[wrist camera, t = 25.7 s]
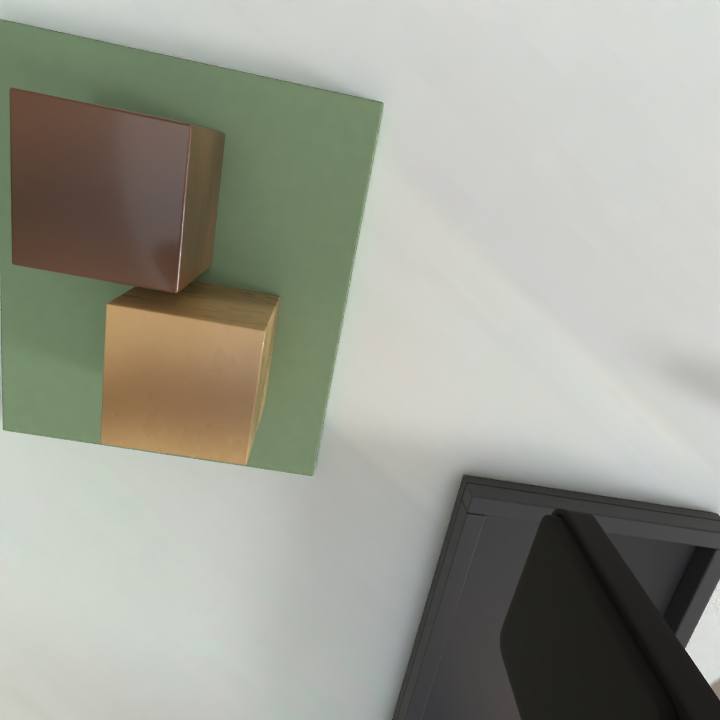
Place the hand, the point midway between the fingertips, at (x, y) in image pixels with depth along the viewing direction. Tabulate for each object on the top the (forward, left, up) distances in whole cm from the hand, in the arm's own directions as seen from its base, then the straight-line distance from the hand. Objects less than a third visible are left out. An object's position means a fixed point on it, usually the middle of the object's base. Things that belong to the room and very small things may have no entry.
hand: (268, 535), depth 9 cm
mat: (-1, -5, -12) cm, 13 cm away
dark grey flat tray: (+13, +13, -12) cm, 22 cm away
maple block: (+1, -3, -12) cm, 12 cm away
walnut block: (-4, -6, -12) cm, 14 cm away
